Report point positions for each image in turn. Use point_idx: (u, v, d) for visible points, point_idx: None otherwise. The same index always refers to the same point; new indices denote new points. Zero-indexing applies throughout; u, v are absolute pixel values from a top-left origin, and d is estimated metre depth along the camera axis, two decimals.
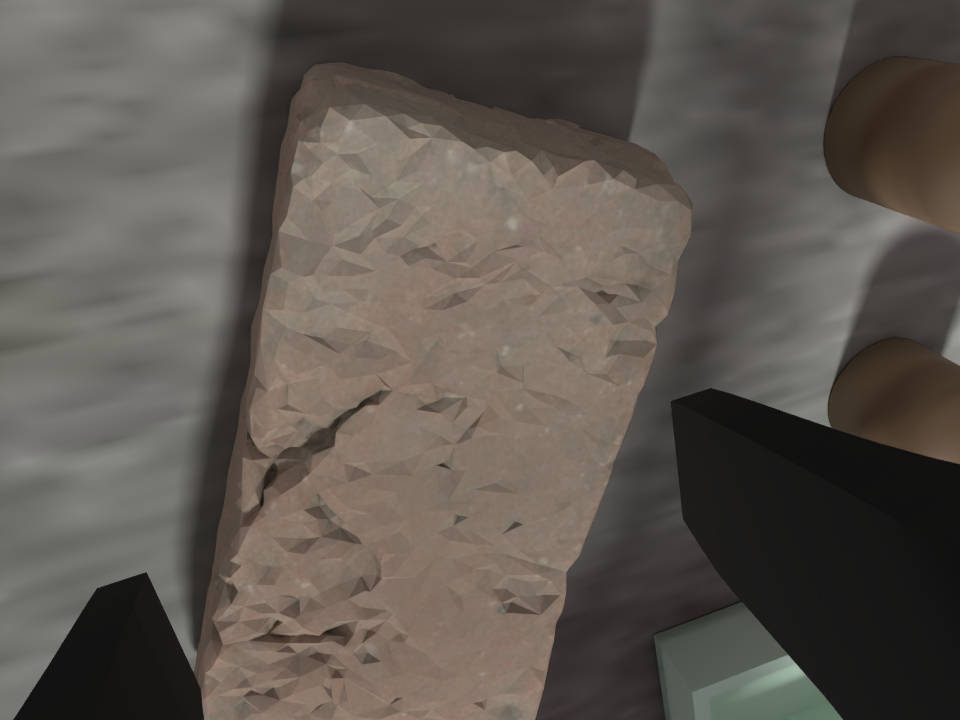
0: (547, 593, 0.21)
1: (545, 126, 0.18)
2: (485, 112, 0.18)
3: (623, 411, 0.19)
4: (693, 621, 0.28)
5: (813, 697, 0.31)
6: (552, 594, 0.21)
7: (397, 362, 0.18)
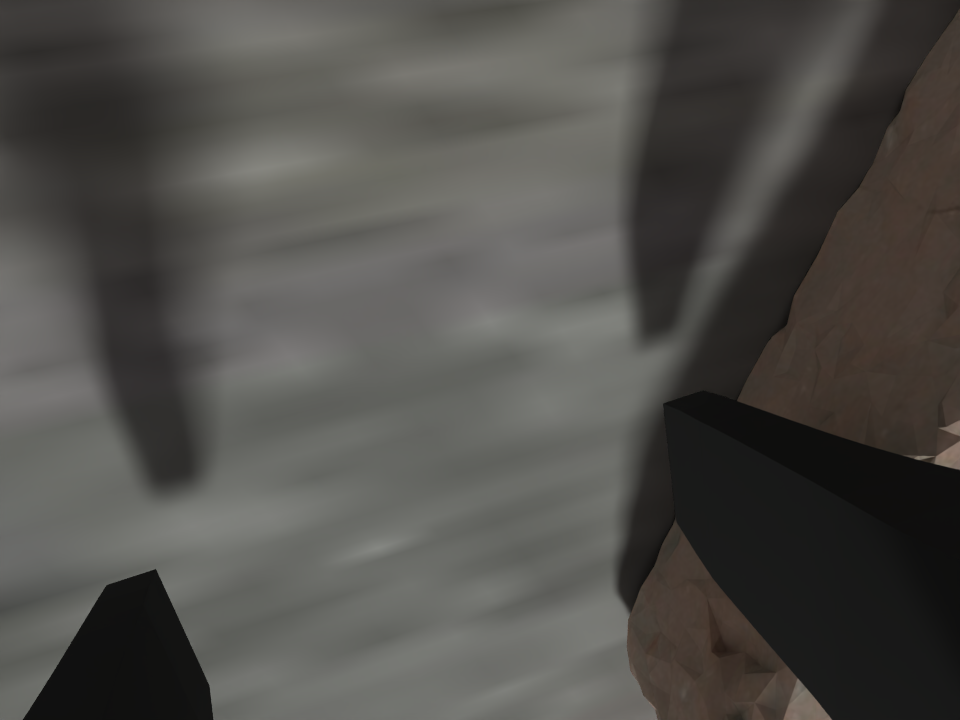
0: None
1: None
2: None
3: None
4: None
5: None
6: None
7: None
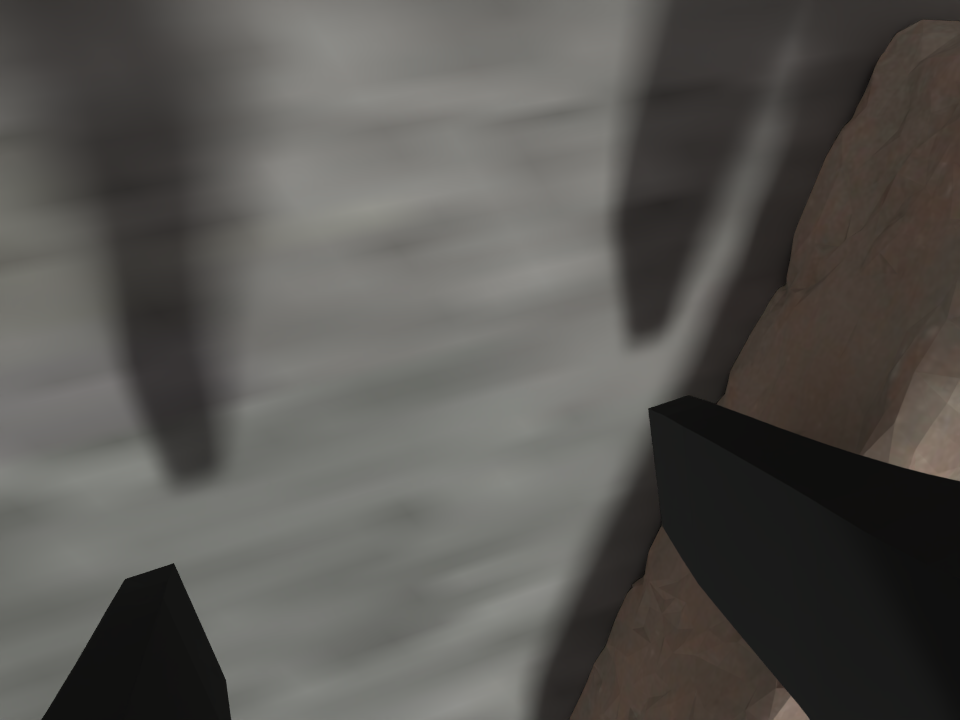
0: None
1: None
2: None
3: None
4: None
5: None
6: None
7: None
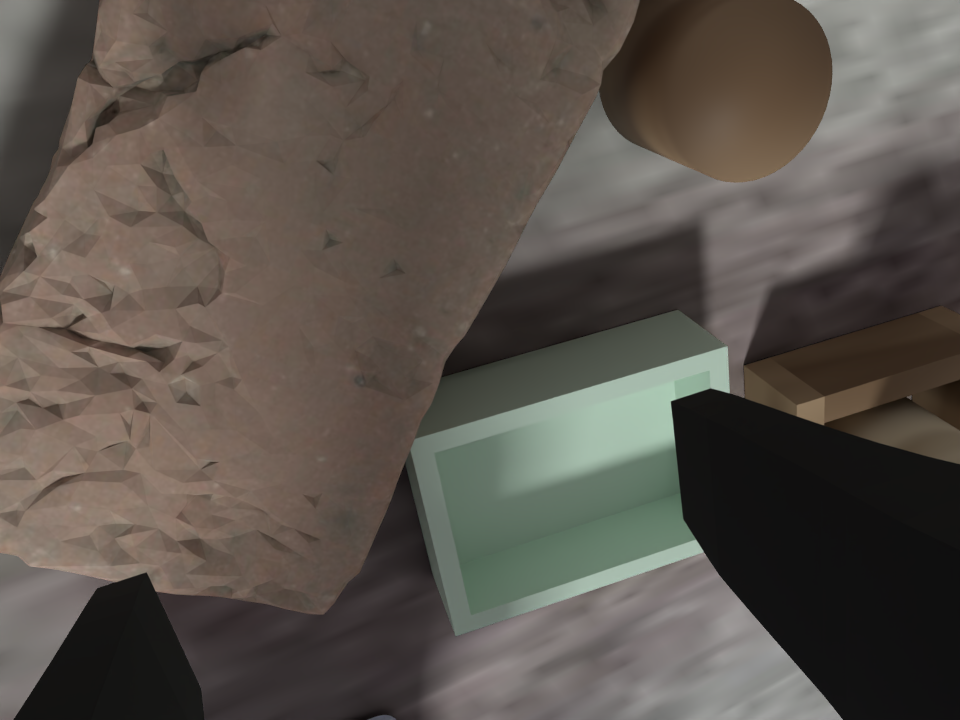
0: (417, 377, 0.18)
1: None
2: None
3: (547, 159, 0.17)
4: None
5: (611, 501, 0.25)
6: (423, 380, 0.18)
7: None
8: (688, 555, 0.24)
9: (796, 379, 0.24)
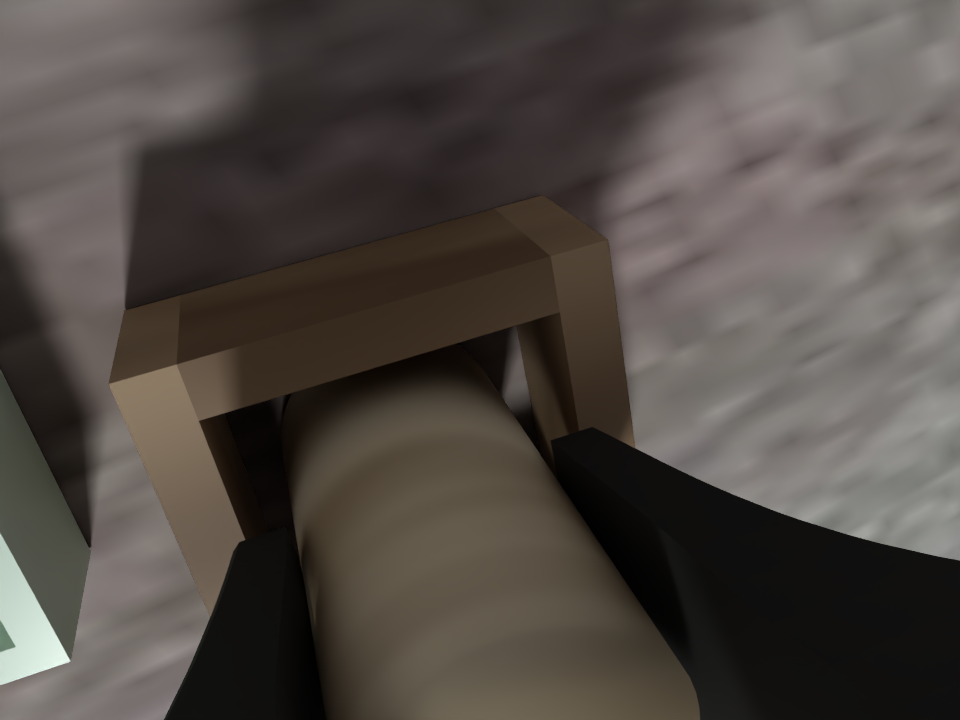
0: None
1: None
2: None
3: None
4: None
5: None
6: None
7: None
8: None
9: (172, 332, 0.12)
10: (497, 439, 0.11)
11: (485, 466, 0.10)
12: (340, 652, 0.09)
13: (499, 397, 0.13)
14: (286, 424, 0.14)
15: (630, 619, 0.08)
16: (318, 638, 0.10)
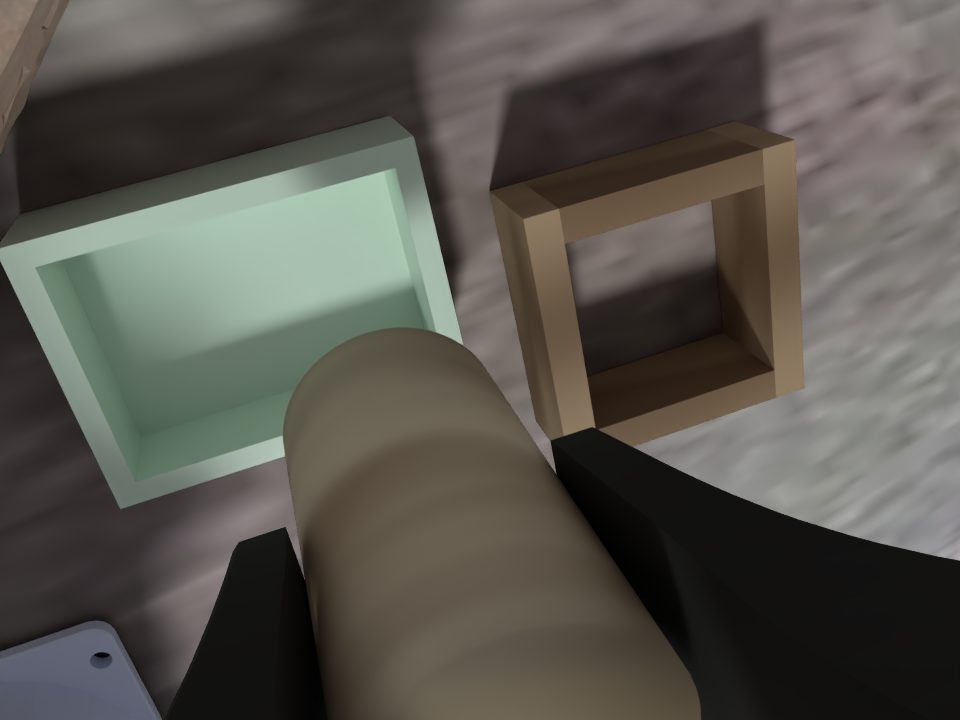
0: None
1: None
2: None
3: None
4: (86, 197, 0.18)
5: None
6: None
7: None
8: None
9: (538, 197, 0.20)
10: (497, 436, 0.11)
11: (485, 464, 0.10)
12: (341, 650, 0.09)
13: (500, 395, 0.13)
14: (288, 423, 0.14)
15: (629, 616, 0.08)
16: (319, 637, 0.10)
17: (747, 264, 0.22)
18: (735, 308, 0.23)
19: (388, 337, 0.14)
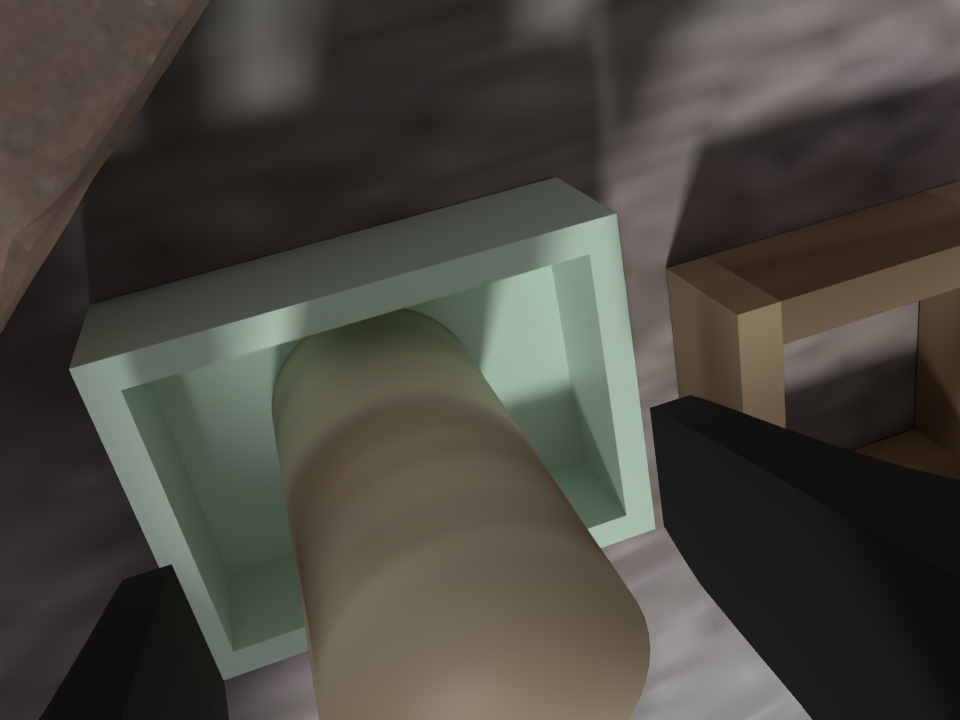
0: None
1: None
2: None
3: None
4: (175, 282, 0.14)
5: None
6: None
7: None
8: None
9: (740, 281, 0.15)
10: (468, 400, 0.12)
11: (455, 422, 0.11)
12: (320, 586, 0.10)
13: (475, 367, 0.14)
14: (276, 396, 0.14)
15: (581, 549, 0.09)
16: (301, 580, 0.11)
17: None
18: (942, 405, 0.19)
19: None
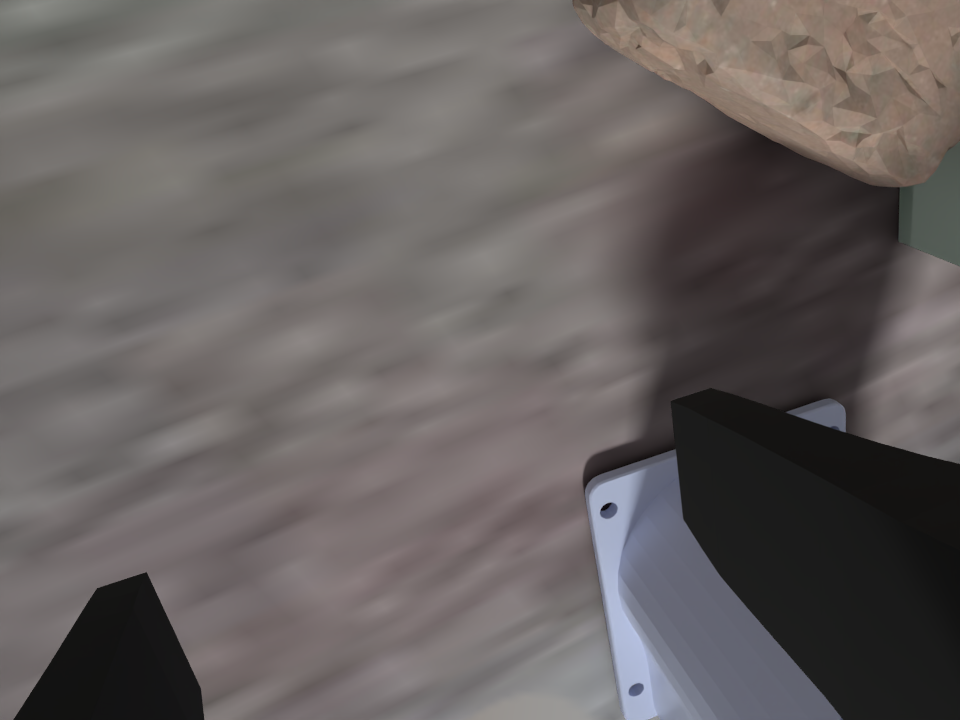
0: None
1: None
2: None
3: None
4: None
5: None
6: None
7: None
8: None
9: None
10: None
11: None
12: None
13: None
14: None
15: None
16: None
17: None
18: None
19: None
